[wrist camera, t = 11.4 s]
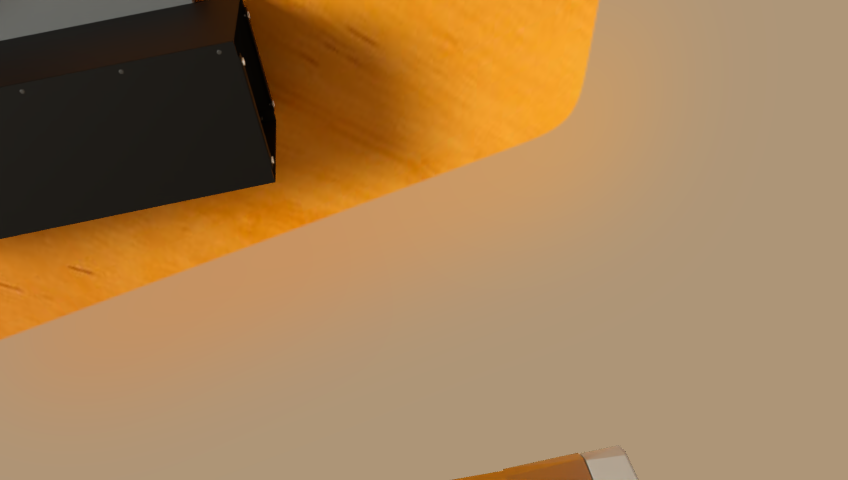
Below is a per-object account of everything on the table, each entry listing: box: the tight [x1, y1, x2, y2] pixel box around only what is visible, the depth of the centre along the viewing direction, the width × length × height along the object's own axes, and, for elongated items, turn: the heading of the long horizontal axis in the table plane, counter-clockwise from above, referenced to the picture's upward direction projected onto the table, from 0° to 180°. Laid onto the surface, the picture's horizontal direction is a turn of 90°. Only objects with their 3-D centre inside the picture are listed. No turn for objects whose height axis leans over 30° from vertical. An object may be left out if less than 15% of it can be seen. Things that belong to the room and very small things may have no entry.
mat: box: [0, 0, 195, 41], centre depth 45 cm, size 22×13×1 cm, turn 97°
